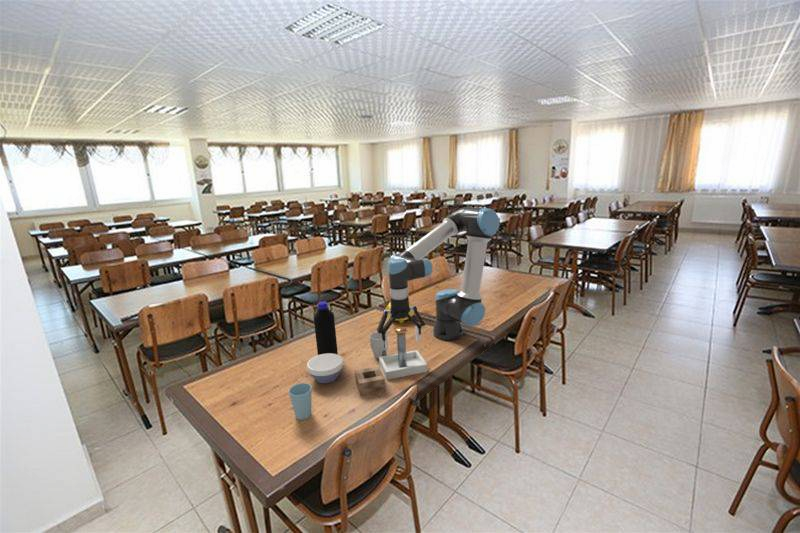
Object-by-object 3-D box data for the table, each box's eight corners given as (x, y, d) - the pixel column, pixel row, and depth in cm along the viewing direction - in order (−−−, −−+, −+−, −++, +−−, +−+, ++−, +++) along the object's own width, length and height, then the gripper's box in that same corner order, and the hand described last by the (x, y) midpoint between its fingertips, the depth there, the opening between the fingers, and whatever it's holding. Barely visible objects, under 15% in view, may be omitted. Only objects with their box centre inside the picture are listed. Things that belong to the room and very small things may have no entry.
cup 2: (386, 360, 166) (384, 340, 164) (368, 359, 168) (367, 339, 166) (390, 351, 174) (389, 332, 172) (373, 351, 176) (372, 331, 173)
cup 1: (308, 405, 137) (304, 380, 134) (318, 415, 131) (315, 388, 129) (288, 415, 132) (284, 389, 129) (298, 425, 126) (294, 398, 124)
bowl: (327, 391, 145) (326, 374, 143) (301, 382, 152) (299, 365, 151) (351, 374, 157) (350, 357, 155) (325, 366, 164) (324, 350, 162)
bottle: (342, 358, 170) (336, 300, 163) (330, 367, 163) (324, 307, 155) (326, 355, 174) (320, 298, 167) (314, 364, 166) (307, 305, 159)
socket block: (379, 377, 153) (379, 366, 152) (385, 390, 144) (384, 378, 143) (355, 381, 151) (354, 370, 150) (359, 395, 141) (358, 383, 140)
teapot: (398, 329, 198) (397, 305, 195) (376, 323, 208) (374, 300, 204) (419, 317, 213) (418, 294, 210) (398, 311, 223) (397, 290, 219)
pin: (406, 362, 162) (404, 326, 158) (409, 367, 158) (407, 330, 154) (395, 364, 161) (393, 327, 157) (398, 369, 157) (396, 332, 152)
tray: (417, 356, 168) (417, 350, 168) (427, 371, 156) (427, 364, 155) (379, 363, 164) (378, 356, 163) (386, 379, 151) (386, 372, 150)
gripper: (425, 289, 158) (427, 335, 164) (367, 298, 152) (371, 345, 158) (431, 295, 151) (433, 343, 157) (371, 304, 145) (375, 353, 151)
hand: (402, 344), depth 157 cm, fingers open, 13 cm apart
